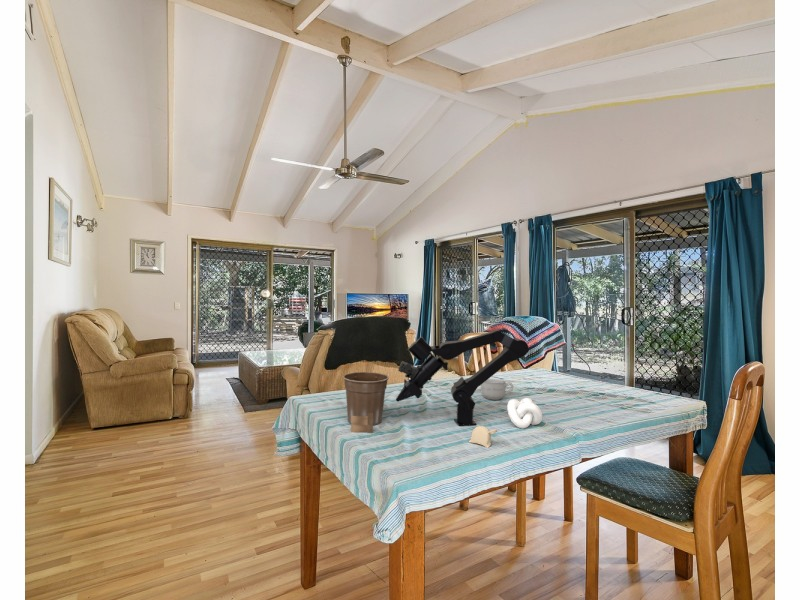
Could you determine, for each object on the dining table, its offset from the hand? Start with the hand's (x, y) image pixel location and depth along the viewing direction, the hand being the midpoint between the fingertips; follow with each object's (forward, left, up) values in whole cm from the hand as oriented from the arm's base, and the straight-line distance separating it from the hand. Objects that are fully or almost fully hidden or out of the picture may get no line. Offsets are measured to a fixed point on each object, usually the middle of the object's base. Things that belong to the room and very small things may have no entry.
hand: (396, 400), depth 146 cm
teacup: (+25, -49, -8) cm, 56 cm away
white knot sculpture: (-9, -44, -8) cm, 46 cm away
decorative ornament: (-25, -23, -8) cm, 34 cm away
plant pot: (+2, +11, -8) cm, 14 cm away
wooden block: (+2, +11, -8) cm, 13 cm away
